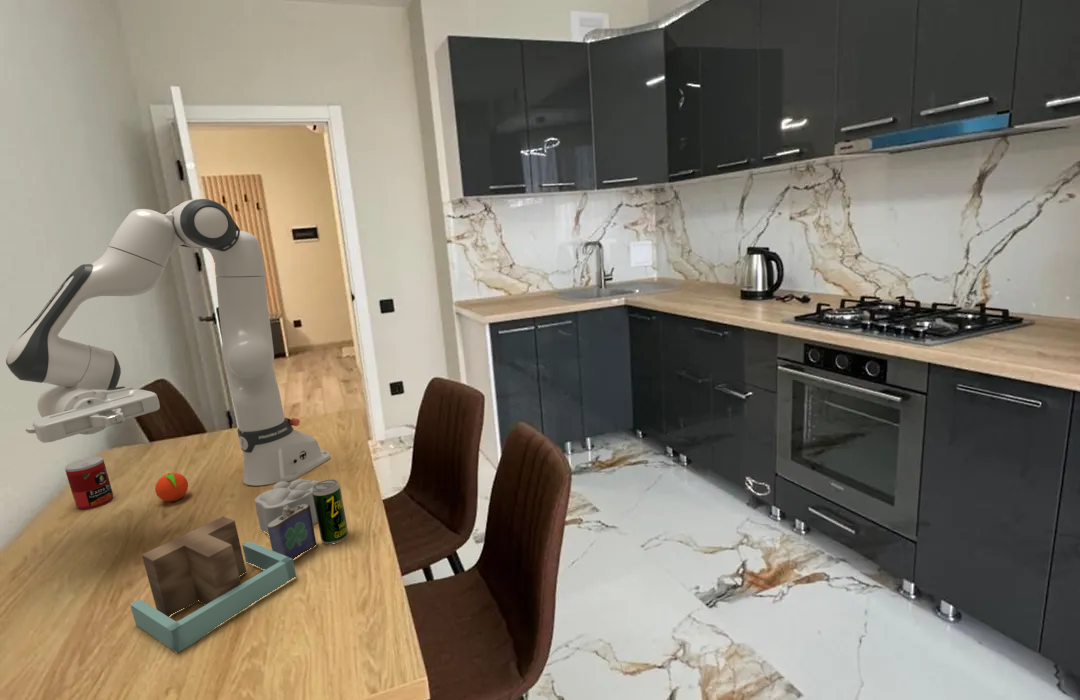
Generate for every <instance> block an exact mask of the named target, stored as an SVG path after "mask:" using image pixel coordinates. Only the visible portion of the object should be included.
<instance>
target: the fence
mask: <svg viewBox="0 0 1080 700" xmlns="http://www.w3.org/2000/svg"><path fill="white" fill-rule="evenodd" d="M241 548H242V551H243V556H244V561H245V563H246V562H248V563H251V564H254V565H256V566H258V567H260V568H262V569H265V570H264V571H261V572H259V573H258V574H256V575H254V576H253V577H251V578H249V579H247V580H245V581H244V582H243V583H241V584H240V585H239V586H237V587H235V588H234V589H232V590H230V591H229V592H227V593H225V594H223V595H222V596H220V597H218V598H217V599H215V600H213V601H212V602H210V603H208V604H206V605H203V606H201V607H200V608H197V610H195V611H193V612H191V613H190V614H188V615H186V616H184V617H183V618H181V619H179V620H176V621H175V620H174V619H172V617H170V618H169V617H168V616H166V615H165V614H163V613H161V612H160V611H158V610H157V609H156V607H154V606H152V605H151V604H148V603H147V602H145V600H144V601H143V600H142V599H140V598H139V599H138V600H136V601H133V602H132V603H130V604H129V605H130V609H131V612H132V616H133V619H134V623H135V625H136V627H138V628H140V629H141V630H142V629H143V630H142V631H144V632H145V631H146V633H147V634H148V633H149V634H148V635H150V636H151V635H152V636H151V637H153V638H154V637H155V638H154V639H156V640H157V641H159V642H160V641H161V642H162V644H163V643H164V644H165V645H164V644H163V645H164V646H166V647H168V648H169V649H170V648H171V649H170V650H172V651H173V650H174V652H175V651H176V652H178V653H180V652H182V651H183V650H184V649H186V648H188V647H189V646H192V645H193V644H194V643H196V642H197V641H199V640H201V639H202V638H204V637H205V636H207V635H208V634H207V633H208V632H210V631H212V630H213V629H214V628H215V627H217V626H218V625H220V624H221V623H223V622H225V621H226V620H228V619H229V618H231V617H232V616H234V615H235V614H237V613H239V612H240V611H242V610H243V609H245V608H247V607H248V606H249V605H251V604H252V603H254V602H255V601H257V600H259V599H260V598H262V597H263V596H265V595H267V594H268V593H270V592H272V591H273V590H275V589H277V588H278V587H280V586H281V585H283V584H285V583H286V582H287V581H289V580H291V579H292V578H294V577H296V578H297V574H296V569H295V565H294V561H293V559H292V558H289V557H287V556H285V555H282V554H280V553H277V552H275V551H272V549H269V548H268V547H265V546H263V545H260V544H258V543H255V542H253V541H251V540H249V541H247V542H245V543H243V544H242V546H241ZM213 631H214V630H213ZM213 631H212V632H213ZM210 633H211V632H210ZM206 634H207V635H206ZM204 635H205V636H204ZM203 636H204V637H203ZM201 637H202V638H201ZM200 638H201V639H200ZM198 639H199V640H198ZM161 642H160V643H161ZM181 650H182V651H181ZM179 651H180V652H179ZM176 652H175V653H176Z"/></svg>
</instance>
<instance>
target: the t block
mask: <svg viewBox="0 0 1080 700" xmlns="http://www.w3.org/2000/svg"><path fill="white" fill-rule="evenodd" d="M242 551H243V549H242V546H241V543H240V537H239V533H238V529H237V525H236V521H235V520H233V519H231V518H229V517H225V516H223V515H222V516H221V517H219V518H216V519H214V520H212V521H210V522H208V523H207V524H204V525H202V526H199V527H198V528H196V529H194V530H192V531H189V532H188V533H185V534H182V535H181V536H179V537H177V538H174V539H172V540H170V541H168V542H166V543H164V544H162V545H159V546H158V547H155V548H153V549H151V550H149V551H147V552H145V553H143V554H141V557H142V559H143V565H144V568H145V571H146V575H147V578H148V583H149V587H150V590H151V593H152V597H153V601H154V605H155V609H157V610H158V611H160V612H161V613H163V614H165V615H166V616H168V617H169V616H170V615H171V614H173V613H175V612H177V611H179V610H181V609H183V608H185V609H187V608H189V607H190V606H189V605H191V604H192V605H194V604H196V603H197V602H196V601H198V600H199V601H200V602H199V601H198V602H199V603H201V602H202V603H203V604H202V603H201V604H202V605H204V604H205V605H206V604H208V603H210V602H212V601H213V600H215V599H217V598H218V597H220V596H222V595H223V594H225V593H227V592H229V591H230V590H232V589H234V588H235V587H237V586H239V585H240V584H242V583H241V577H239V576H240V575H242V574H243V573H245V572H247V568H246V564H245V558H244V554H243V552H242ZM195 602H196V603H195ZM193 603H194V604H193ZM192 605H191V606H192ZM205 605H204V606H205ZM188 606H189V607H188ZM186 607H187V608H186Z"/></svg>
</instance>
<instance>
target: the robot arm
mask: <svg viewBox="0 0 1080 700" xmlns="http://www.w3.org/2000/svg"><path fill="white" fill-rule="evenodd" d="M178 247H184V248H194V249H206V250H207V251H208V252H209V253H210V254H211V257H212V259H213V263H214V271H215V272H214V273H215V285H216V294H217V295H216V296H217V306H218V307H217V308H218V315H219V324H220V331H221V332H220V333H221V341H222V342H221V343H222V344H221V355H222V358H223V363H224V369H225V372H226V377H227V380H228V385H229V389H230V395H231V399H232V403H233V409H234V414H235V417H236V422H237V427H238V428H237V430H236V431H237V435H238V436H237V437H238V441H239V445H240V448H241V451H242V456H243V475H242V476H243V477H242V482H243V484H245V485H247V486H266V485H273V484H276V483H278V482H280V481H286V482H293V481H295V480H297V479H299V477H301V476H303V475H305V474H307V473H308V472H310V471H311V470H313V469H315V468H317V467H318V466H320V465H322V464H323V463H325V462H326V461H328V460H330V459H331V454H330V452H329V451H327V450H325V449H322V448H321V447H320V445H319V443H318V441H317V439H316V438H315V437H314V436H312V435H309V434H307V433H305V432H302V431H299V430H298V429H294V428H293V426H294V427H298V426H299V425H300V424H301V422H300V419H298V418H296V417H293V418H288V417H285V414H284V409H283V403H282V399H281V397H282V396H281V394H280V389H279V386H278V385H279V384H278V382H277V379H276V374H275V373H276V372H275V370H274V365H273V363H274V359H275V352H274V344H273V343H274V342H273V334H272V326H271V320H270V313H269V305H268V304H269V303H268V293H267V282H266V281H267V280H266V270H265V269H266V268H265V264H264V263H265V262H264V258H263V257H264V256H263V253H262V249H261V245H260V242H259V240H258V238H257V237H256V236H255V235H254V234H252V233H250V232H248V231H245V230H241V229H240V228H239V226H238V224H237V223H236V222H235V220H234V219H233V217H232V215H231V213H230V211H228V209H227V208H226V207H225V206H224V205H223V204H221V203H219V202H217V201H215V200H212V199H209V198H208V199H207V198H198V199H197V198H196V199H188V200H185V201H183V202H181V203H179V204H176V205H174V206H172V207H171V208H169V209H167V210H166V211H164V212H162V213H161V212H159V211H155V210H153V209H148V208H137V209H134V210H132V211H131V212H129V214H128V215H127V216H126V217H125V219H123V221H122V222H121V224H120V225H119V226H118V228H117V230H116V231H115V233H114V235H113V236H112V238H111V240H110V242H109V244H108V246H107V248H106V250H105V251H104V253H102V255H101V256H100V257H99V258H98V259H97V260H95V261H94V262H92V263H88V264H87V263H86V264H80V265H79V266H78V267H76V268H75V269H74V270H73V271H72V272H71V273H70V274H69V275H68V277H67V278H66V279H65V280H64V281H63V283H62V284H61V285H60V286H59V288H58V289H56V290H55V291H56V292H55V293H54V294H53V295H52V297H51V298H50V299H49V301H48V302H47V303H46V304H45V306H44V307H43V309H42V310H41V311H40V312H39V314H38V315H37V316H36V317H35V319H34V321H33V322H31V324H30V325H29V326H28V327H27V329H26V330H25V331H24V332H23V333H21V335H20V336H19V337H18V338H17V340H16V341H15V342H14V343H13V344H12V346H11V347H10V348H9V351H8V353H7V356H6V358H5V359H6V360H5V364H6V367H7V368H8V369H9V370H10V372H11V373H12V374H13V375H14V376H15V377H16V378H17V379H18V380H20V381H25V382H32V383H39V384H40V383H44V384H48V385H53V387H51V388H48V389H46V390H44V392H43V393H41V394H40V395H39V398H38V400H37V405H36V406H37V411H38V413H39V415H40V416H41V417H39V418H37V419H35V420H33V421H32V425H31V426H28V427H26V428H25V432H26V433H28V434H32V435H33V434H35V435H36V438H37V439H38V440H39V442H41V443H42V444H43V443H44V444H45V443H52V442H56V441H60V440H62V439H66V438H69V437H73V436H76V435H93V434H96V433H99V432H102V431H103V430H104V429H105V430H106V428H108V427H111V426H114V425H118V424H122V423H125V422H126V421H127V420H129V419H134V418H136V417H140V416H143V415H146V414H147V415H148V414H149V413H153V412H156V411H158V410H160V407H161V405H160V400H159V398H158V394H157V393H155V392H154V391H150V390H145V389H142V388H141V389H140V388H138V389H136V388H135V389H133V386H130V385H125V386H118V383H119V381H120V377H121V373H122V371H121V370H122V368H121V365H120V362H119V360H118V358H117V356H116V354H115V353H114V352H113V351H112V350H108V349H104V348H101V347H98V346H94V345H90V344H85V343H81V342H76V341H73V340H69V339H65V338H62V337H60V336H59V334H60V333H61V331H62V330H63V328H64V327H65V326H66V324H67V323H68V322H69V321H70V319H71V317H72V316H73V315H74V313H75V312H76V311H77V309H78V308H79V306H80V305H81V304H82V303H84V302H86V301H87V300H90V299H92V298H97V297H98V298H99V297H132V296H133V297H134V296H140V295H143V294H145V293H147V292H149V291H151V290H153V289H154V288H155V287H156V286H157V284H158V283H159V281H160V279H161V277H162V276H163V273H164V271H165V268H166V266H167V263H168V262H169V259H170V256H171V255H172V253H173V252H174V251H175V250H176V249H177V248H178Z"/></svg>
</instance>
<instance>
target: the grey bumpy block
mask: <svg viewBox="0 0 1080 700" xmlns="http://www.w3.org/2000/svg"><path fill="white" fill-rule="evenodd" d="M318 482H319V481H318V480H314V479H304V478H296V479H294V480H292V481H280V482H277V483H274V485H273V486H272V488H271V489H269V490H266V491H264V492H263V493H260V494H259V495H257V497H255V498H254V505H255V511H256V514H257V520H258V523H259V529H260V531H261V530H262V531H265V532H267V533H268V534H269V532H268V527H267V525H268V524H269V523H271V522H272V521H273V520H275V519H276V518H278V517H279V516H281V515H283V508H284V507H286V506H287V505H288V506H289V508H291V509H293V508H295V507H296V506H298V505H302V504H307V505H309V506H310V511H311V516H312V523H313V524H314V523H315V524H317V523H318V522H317V515H316V510H315V505H314V500H313V495H312V491H313V488H312V487H313V486H314V485H315V484H316V483H318ZM283 505H286V506H284V507H282V506H283ZM280 508H282V509H280ZM316 522H317V523H316ZM315 524H314V525H315ZM262 531H261V532H262ZM268 534H267V535H268Z"/></svg>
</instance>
